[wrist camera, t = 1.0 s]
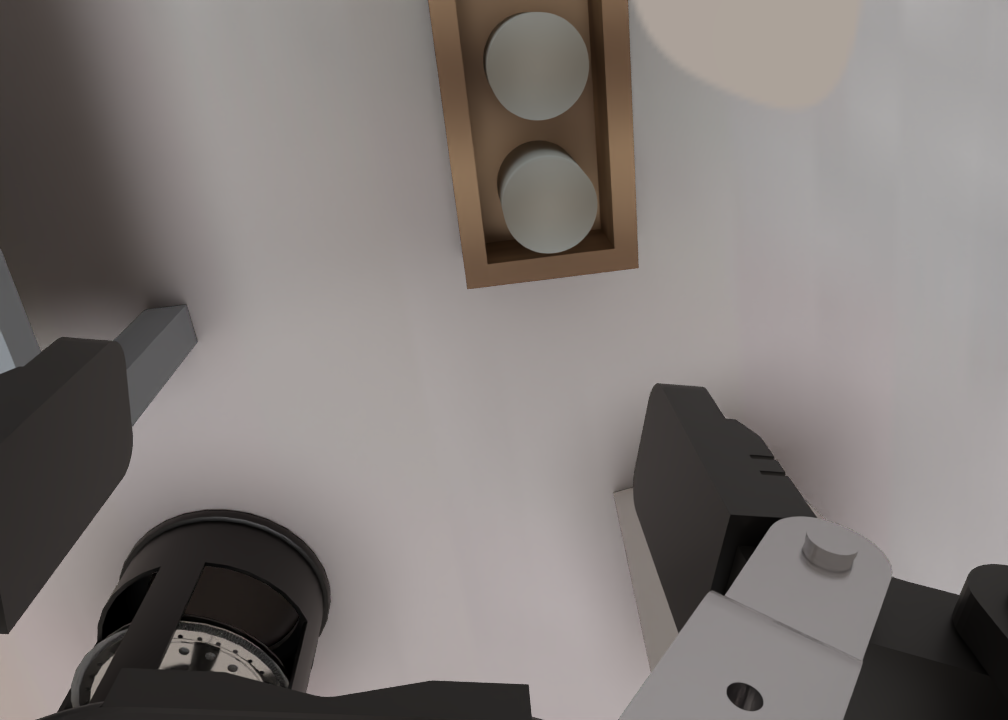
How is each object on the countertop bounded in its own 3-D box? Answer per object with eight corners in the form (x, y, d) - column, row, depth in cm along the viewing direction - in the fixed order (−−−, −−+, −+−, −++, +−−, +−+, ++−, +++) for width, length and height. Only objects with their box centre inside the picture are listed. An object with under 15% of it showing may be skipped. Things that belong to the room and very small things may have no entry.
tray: (408, -167, 24) (398, -207, 20) (597, -190, 24) (628, -234, 20) (465, 260, 30) (468, 301, 26) (619, 241, 30) (647, 279, 26)
